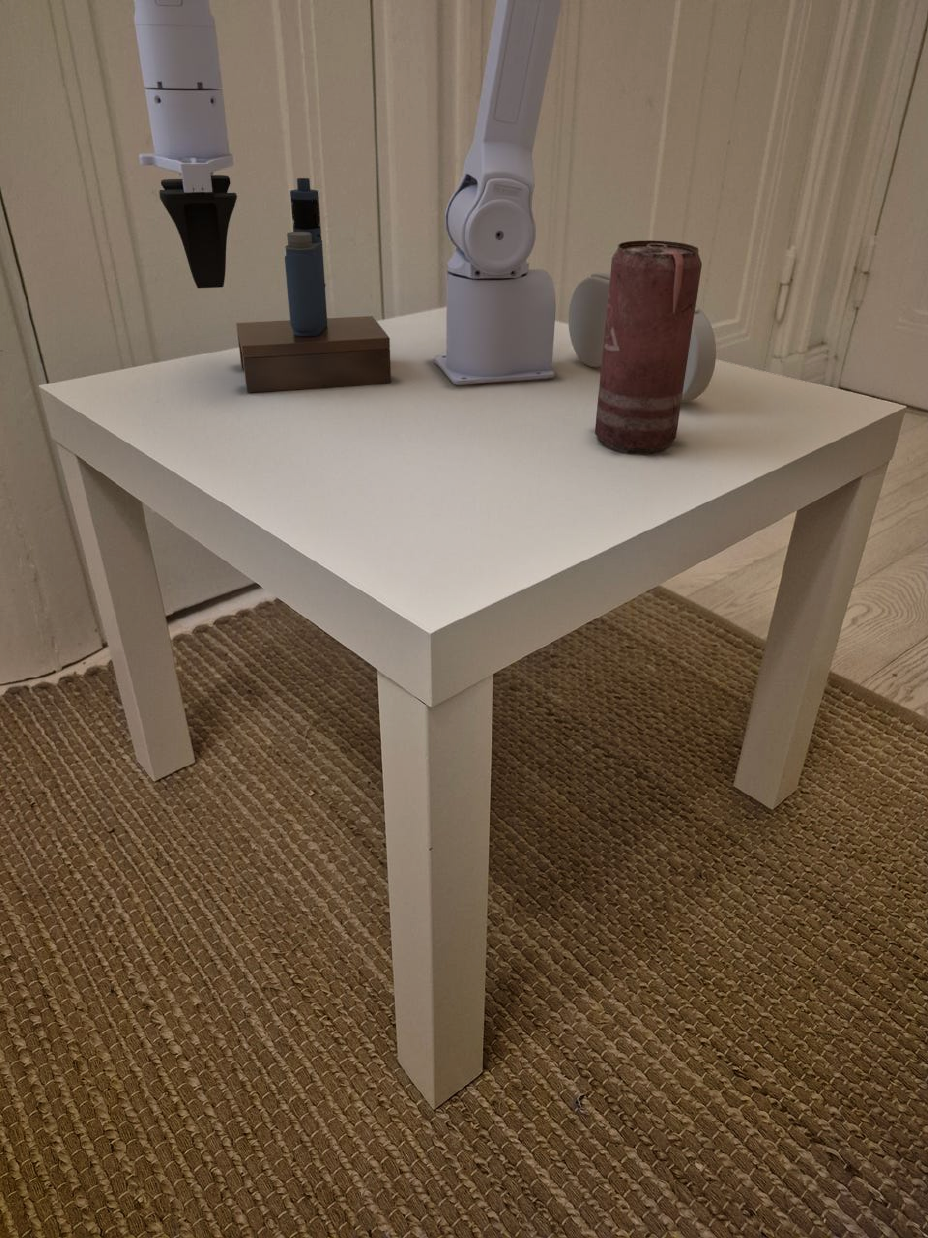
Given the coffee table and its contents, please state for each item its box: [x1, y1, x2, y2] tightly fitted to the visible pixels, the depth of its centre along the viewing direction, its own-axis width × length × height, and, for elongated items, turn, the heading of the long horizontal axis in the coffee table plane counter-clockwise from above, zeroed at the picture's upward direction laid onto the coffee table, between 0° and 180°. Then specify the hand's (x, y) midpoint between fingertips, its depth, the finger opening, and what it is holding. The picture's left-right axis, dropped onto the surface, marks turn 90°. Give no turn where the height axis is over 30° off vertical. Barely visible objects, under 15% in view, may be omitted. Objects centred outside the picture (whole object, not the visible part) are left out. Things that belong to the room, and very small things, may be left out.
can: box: [594, 239, 703, 455], centre depth 64 cm, size 6×6×14 cm
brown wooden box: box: [235, 315, 392, 394], centre depth 80 cm, size 13×8×4 cm, turn 106°
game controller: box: [568, 272, 717, 403], centre depth 79 cm, size 20×2×8 cm, turn 26°
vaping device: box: [284, 177, 328, 337], centre depth 76 cm, size 3×5×12 cm, turn 174°
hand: (208, 277), depth 75 cm, fingers open, 7 cm apart
